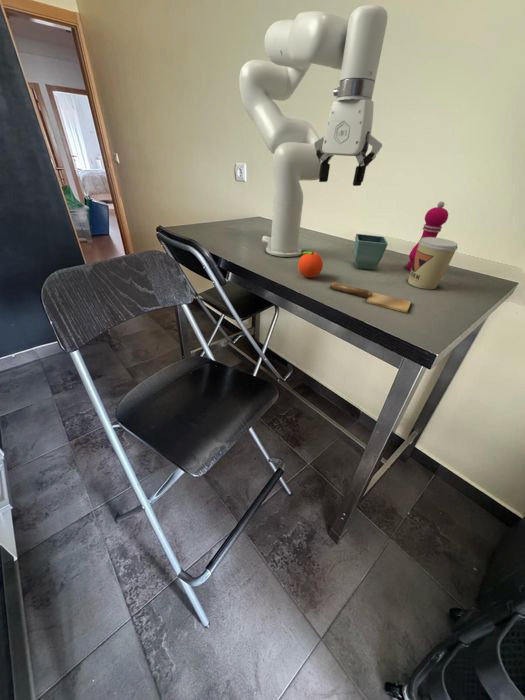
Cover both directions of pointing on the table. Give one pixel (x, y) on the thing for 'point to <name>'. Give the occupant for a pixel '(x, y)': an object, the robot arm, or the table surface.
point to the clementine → (310, 264)
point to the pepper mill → (430, 227)
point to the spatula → (374, 297)
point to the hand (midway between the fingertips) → (339, 183)
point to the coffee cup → (431, 262)
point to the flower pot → (368, 250)
